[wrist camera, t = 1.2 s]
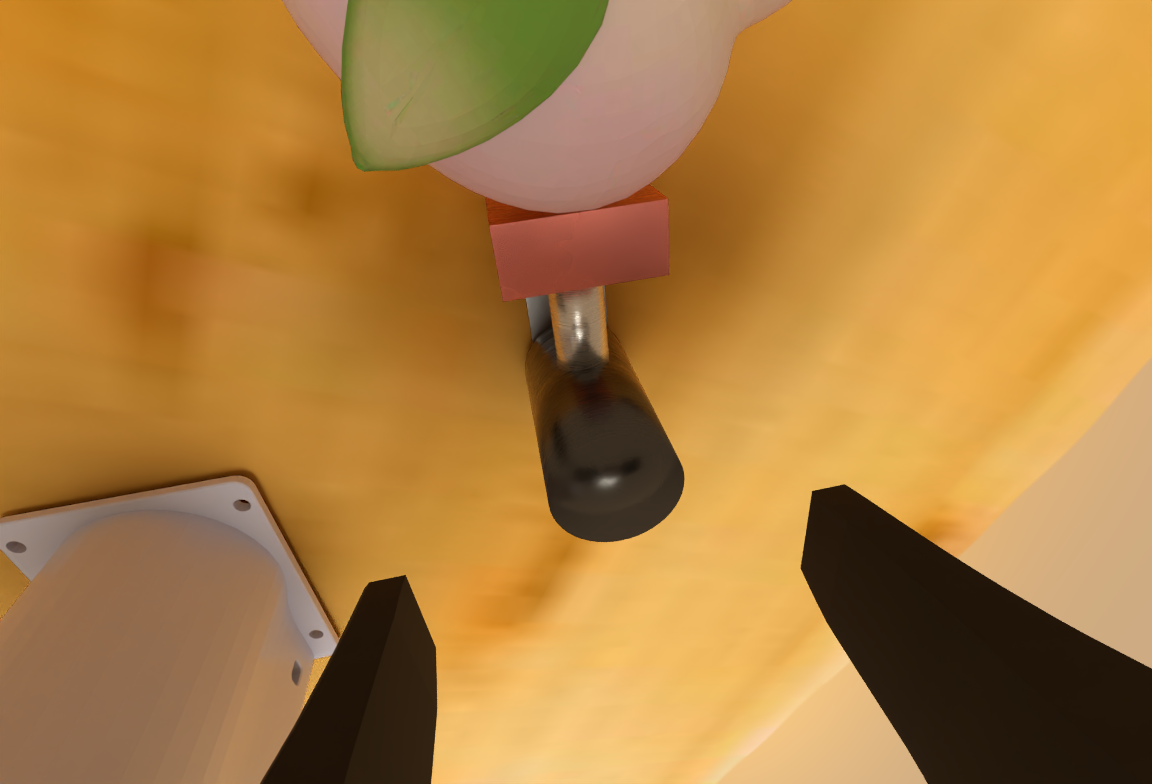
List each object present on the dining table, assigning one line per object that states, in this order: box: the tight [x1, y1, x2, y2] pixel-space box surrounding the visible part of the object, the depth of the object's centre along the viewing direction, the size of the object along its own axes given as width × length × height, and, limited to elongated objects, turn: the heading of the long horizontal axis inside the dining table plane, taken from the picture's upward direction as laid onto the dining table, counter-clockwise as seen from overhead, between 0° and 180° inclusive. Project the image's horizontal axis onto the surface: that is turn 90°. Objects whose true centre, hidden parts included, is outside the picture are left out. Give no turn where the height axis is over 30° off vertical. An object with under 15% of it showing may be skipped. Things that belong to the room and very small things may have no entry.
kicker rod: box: [486, 184, 684, 542], centre depth 14 cm, size 8×4×6 cm, turn 6°
